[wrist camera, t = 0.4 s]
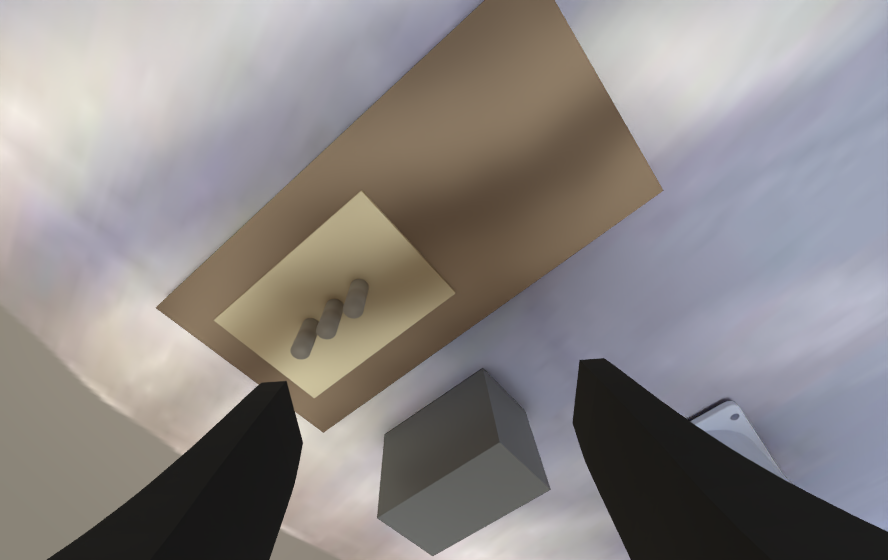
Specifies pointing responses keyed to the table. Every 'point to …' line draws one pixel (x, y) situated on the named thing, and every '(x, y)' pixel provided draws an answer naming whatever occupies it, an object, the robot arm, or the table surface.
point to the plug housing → (459, 465)
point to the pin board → (422, 214)
